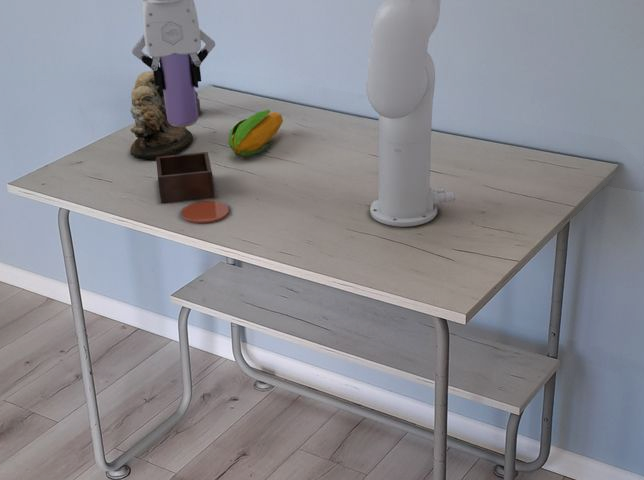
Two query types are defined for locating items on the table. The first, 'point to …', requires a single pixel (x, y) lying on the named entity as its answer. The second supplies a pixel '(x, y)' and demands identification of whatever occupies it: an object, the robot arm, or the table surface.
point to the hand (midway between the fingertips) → (178, 86)
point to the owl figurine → (154, 122)
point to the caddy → (184, 177)
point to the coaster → (205, 212)
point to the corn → (254, 133)
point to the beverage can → (179, 89)
